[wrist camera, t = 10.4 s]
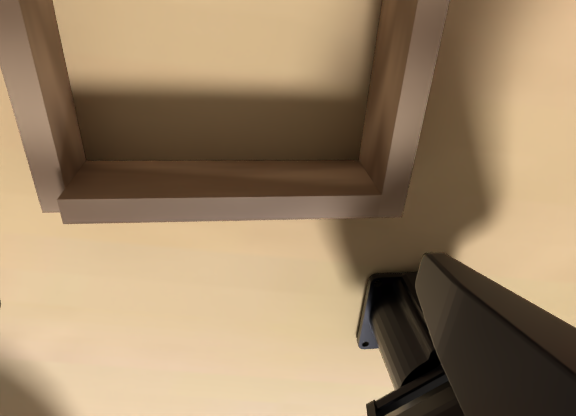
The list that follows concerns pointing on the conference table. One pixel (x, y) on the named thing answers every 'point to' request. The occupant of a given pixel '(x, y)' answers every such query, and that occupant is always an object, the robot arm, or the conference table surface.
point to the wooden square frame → (221, 173)
